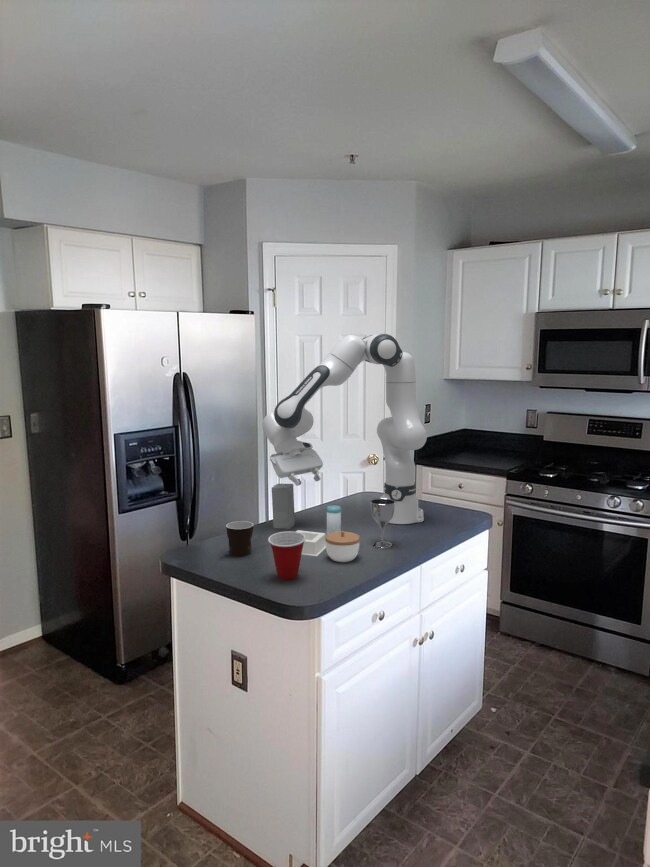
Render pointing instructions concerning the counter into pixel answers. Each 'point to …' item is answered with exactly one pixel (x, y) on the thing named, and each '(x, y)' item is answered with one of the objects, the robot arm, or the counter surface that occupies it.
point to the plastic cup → (287, 553)
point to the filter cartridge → (333, 519)
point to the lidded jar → (342, 546)
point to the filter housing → (313, 543)
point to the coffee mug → (240, 538)
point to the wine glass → (382, 517)
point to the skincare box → (283, 506)
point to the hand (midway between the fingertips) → (308, 482)
